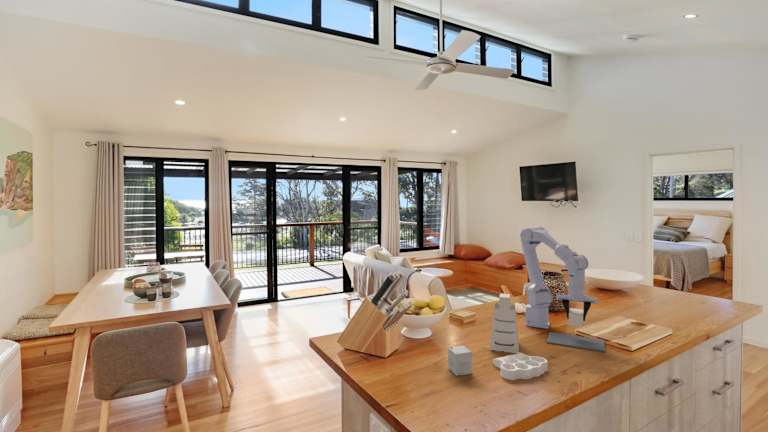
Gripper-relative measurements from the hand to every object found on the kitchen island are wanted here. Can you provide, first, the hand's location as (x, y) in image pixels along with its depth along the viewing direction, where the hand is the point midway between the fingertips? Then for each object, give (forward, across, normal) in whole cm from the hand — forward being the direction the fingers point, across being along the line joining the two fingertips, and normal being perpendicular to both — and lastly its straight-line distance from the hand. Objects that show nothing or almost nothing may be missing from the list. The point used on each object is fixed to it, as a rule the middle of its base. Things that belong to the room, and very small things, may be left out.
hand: (576, 319), depth 154 cm
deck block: (+1, 0, 0) cm, 1 cm away
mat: (+8, 0, -3) cm, 9 cm away
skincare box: (+9, -33, -48) cm, 59 cm away
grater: (+9, -24, -20) cm, 32 cm away
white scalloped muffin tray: (+9, -16, -38) cm, 42 cm away
